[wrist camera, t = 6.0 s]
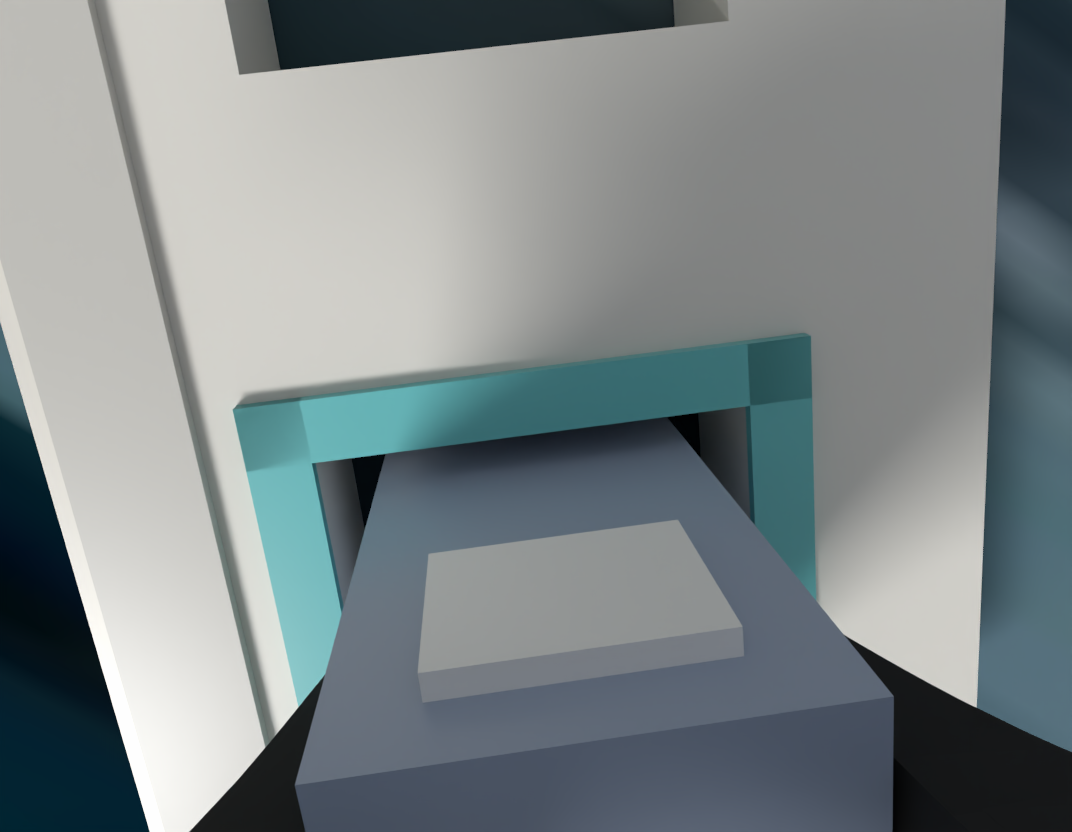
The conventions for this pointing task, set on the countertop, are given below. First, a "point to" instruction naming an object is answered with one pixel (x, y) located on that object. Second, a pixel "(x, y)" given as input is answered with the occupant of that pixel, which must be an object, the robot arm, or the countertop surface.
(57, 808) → the countertop surface
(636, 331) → the panel
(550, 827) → the plug
